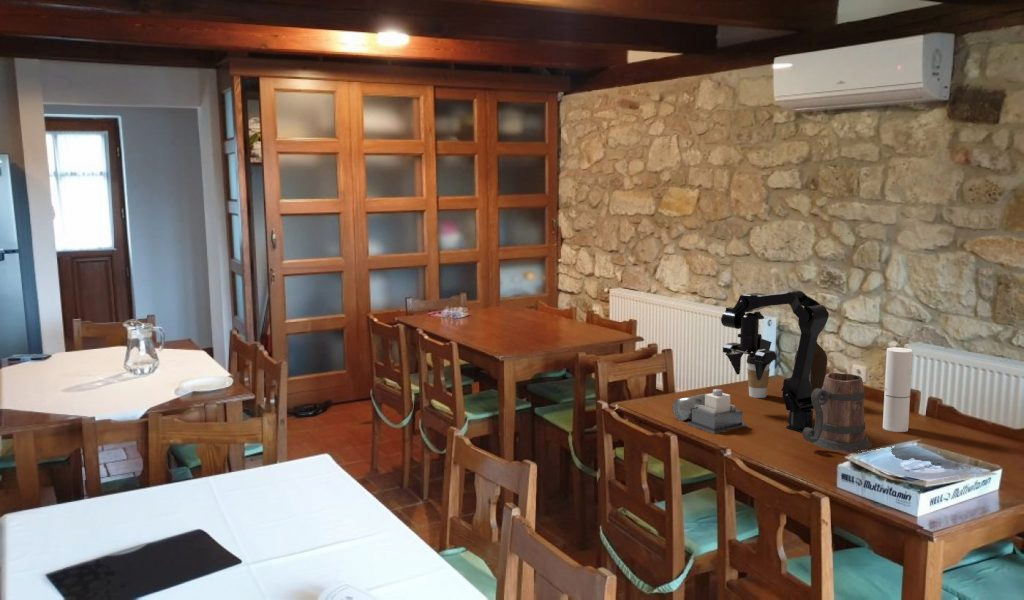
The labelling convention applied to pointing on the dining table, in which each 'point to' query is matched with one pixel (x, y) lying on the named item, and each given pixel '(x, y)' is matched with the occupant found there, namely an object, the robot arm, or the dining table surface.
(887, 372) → the cylindrical container
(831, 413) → the tankard
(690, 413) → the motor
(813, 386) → the olive oil
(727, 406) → the white knobbed block
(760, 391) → the coffee cup
